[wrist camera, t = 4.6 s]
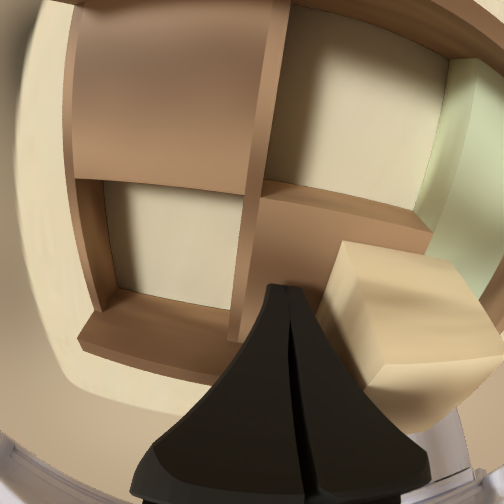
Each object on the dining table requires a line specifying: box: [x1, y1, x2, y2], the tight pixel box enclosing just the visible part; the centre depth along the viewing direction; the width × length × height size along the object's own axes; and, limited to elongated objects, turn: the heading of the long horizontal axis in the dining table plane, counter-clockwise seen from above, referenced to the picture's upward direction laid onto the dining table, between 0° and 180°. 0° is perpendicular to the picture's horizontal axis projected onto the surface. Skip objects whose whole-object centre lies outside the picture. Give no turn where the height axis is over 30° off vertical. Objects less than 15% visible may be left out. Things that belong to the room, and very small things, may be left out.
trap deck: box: [52, 0, 504, 386], centre depth 9 cm, size 16×20×4 cm
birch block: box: [315, 240, 504, 435], centre depth 8 cm, size 5×5×5 cm
